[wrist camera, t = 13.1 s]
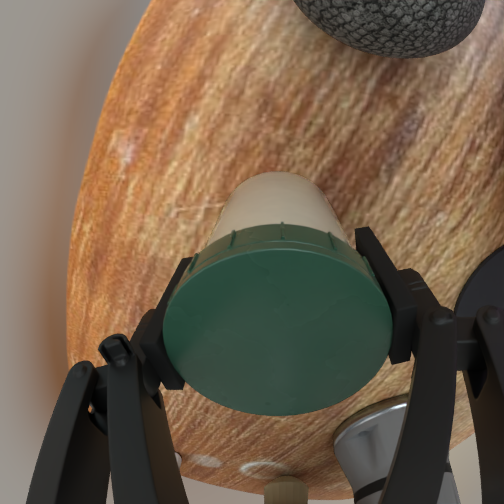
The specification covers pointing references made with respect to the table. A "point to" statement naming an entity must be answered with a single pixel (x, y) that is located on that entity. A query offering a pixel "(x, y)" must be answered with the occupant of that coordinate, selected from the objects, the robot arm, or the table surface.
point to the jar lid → (278, 321)
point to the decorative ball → (395, 24)
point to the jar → (277, 205)
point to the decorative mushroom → (286, 491)
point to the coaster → (483, 286)
